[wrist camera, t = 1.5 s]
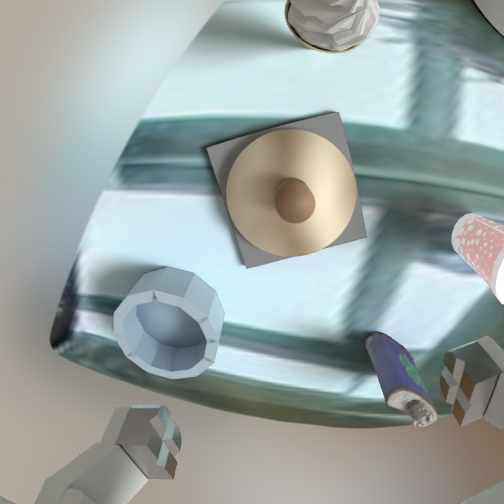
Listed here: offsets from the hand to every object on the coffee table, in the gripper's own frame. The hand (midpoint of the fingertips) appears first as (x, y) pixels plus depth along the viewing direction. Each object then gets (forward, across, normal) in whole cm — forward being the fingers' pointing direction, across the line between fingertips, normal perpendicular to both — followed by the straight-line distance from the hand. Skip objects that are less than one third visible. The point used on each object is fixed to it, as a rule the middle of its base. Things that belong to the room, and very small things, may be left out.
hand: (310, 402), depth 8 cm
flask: (+21, -10, +18) cm, 29 cm away
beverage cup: (+20, -19, +5) cm, 28 cm away
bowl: (+21, +12, +8) cm, 25 cm away
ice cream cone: (+20, -6, -14) cm, 25 cm away
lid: (+20, -2, -2) cm, 20 cm away
